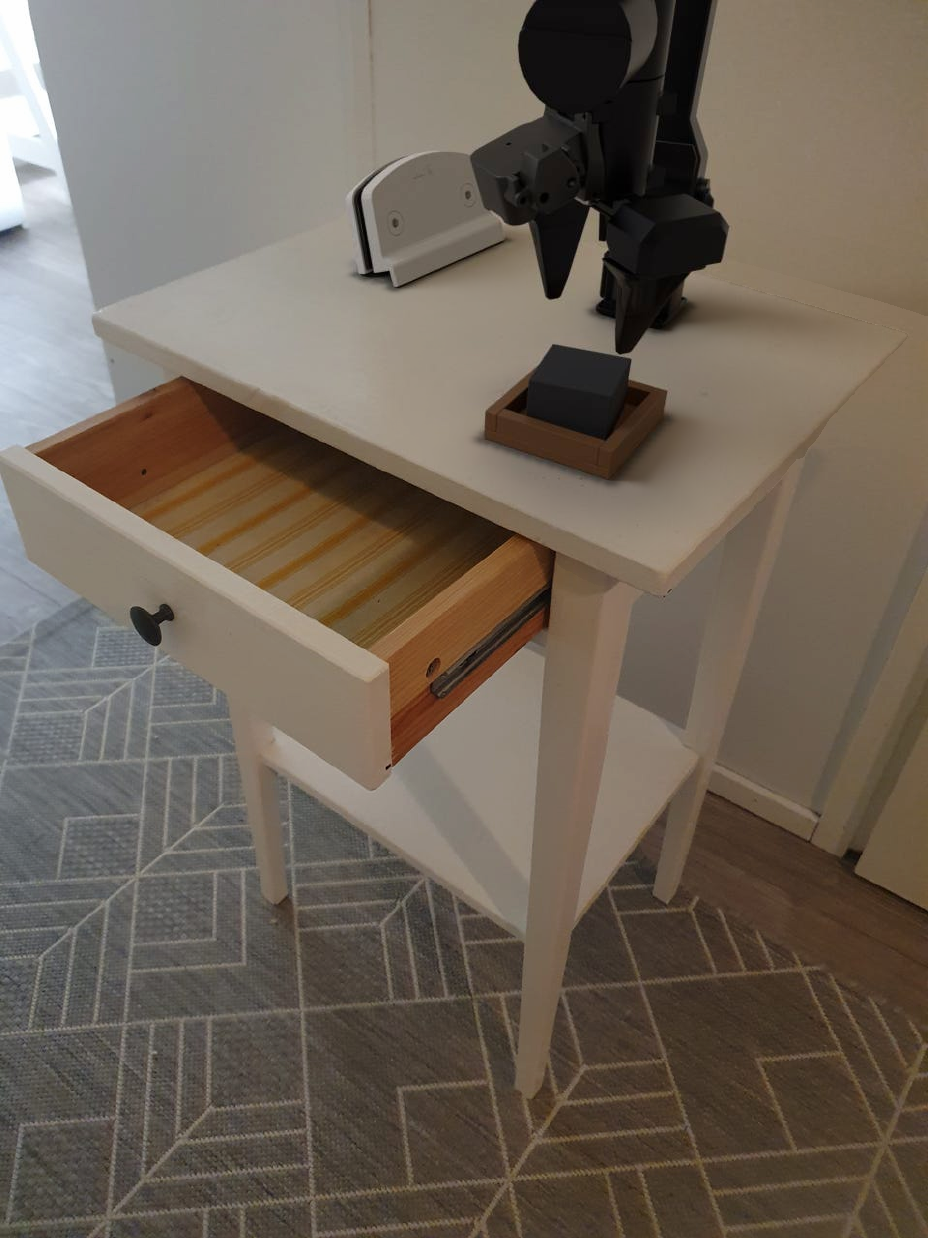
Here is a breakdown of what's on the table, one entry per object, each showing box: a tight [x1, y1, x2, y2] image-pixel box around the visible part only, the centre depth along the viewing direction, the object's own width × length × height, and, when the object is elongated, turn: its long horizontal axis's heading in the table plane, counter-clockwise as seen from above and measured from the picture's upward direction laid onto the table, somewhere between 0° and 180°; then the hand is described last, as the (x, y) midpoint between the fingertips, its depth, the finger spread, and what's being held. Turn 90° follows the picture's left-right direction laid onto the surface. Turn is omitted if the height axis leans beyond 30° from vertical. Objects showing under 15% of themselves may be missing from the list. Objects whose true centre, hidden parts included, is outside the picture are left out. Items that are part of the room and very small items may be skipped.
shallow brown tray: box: [483, 364, 669, 480], centre depth 71 cm, size 10×10×2 cm
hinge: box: [345, 150, 506, 288], centre depth 94 cm, size 17×5×10 cm, turn 140°
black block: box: [526, 343, 633, 441], centre depth 70 cm, size 6×6×4 cm
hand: (586, 324), depth 67 cm, fingers open, 9 cm apart
